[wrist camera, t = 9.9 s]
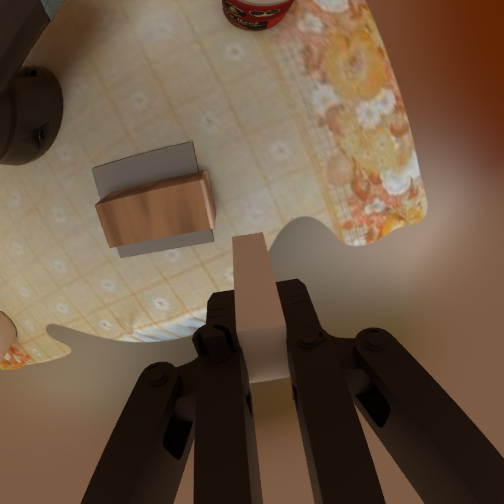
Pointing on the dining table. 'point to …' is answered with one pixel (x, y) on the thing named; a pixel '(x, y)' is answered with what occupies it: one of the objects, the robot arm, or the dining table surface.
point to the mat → (147, 171)
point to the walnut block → (157, 209)
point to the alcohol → (6, 335)
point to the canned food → (255, 12)
